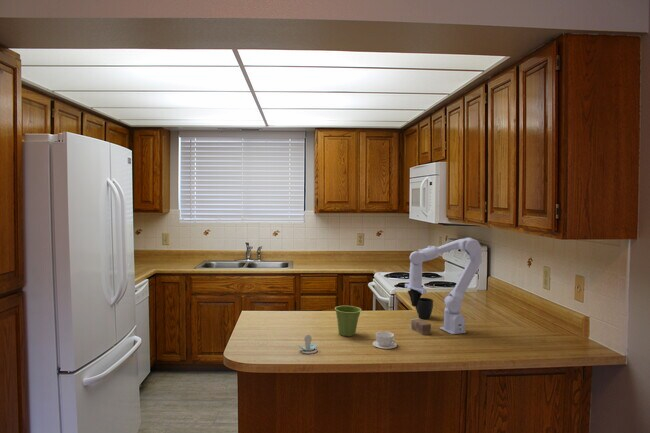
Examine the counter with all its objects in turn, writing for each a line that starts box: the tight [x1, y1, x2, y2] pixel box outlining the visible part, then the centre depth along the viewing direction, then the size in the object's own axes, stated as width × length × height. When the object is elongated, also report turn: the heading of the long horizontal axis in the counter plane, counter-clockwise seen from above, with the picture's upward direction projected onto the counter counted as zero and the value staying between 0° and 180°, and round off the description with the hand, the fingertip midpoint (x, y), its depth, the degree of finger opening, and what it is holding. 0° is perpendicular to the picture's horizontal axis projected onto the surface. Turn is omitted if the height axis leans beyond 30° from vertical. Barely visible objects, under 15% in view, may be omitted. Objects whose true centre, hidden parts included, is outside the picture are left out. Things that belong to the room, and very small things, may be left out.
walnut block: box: [410, 318, 432, 336], centre depth 190 cm, size 4×4×9 cm
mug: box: [414, 297, 434, 320], centre depth 214 cm, size 8×12×10 cm
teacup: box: [372, 330, 398, 349], centre depth 171 cm, size 10×10×5 cm
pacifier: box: [298, 334, 318, 355], centre depth 161 cm, size 7×6×6 cm
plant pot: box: [334, 305, 362, 337], centre depth 183 cm, size 12×12×11 cm
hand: (414, 305), depth 195 cm, fingers closed
